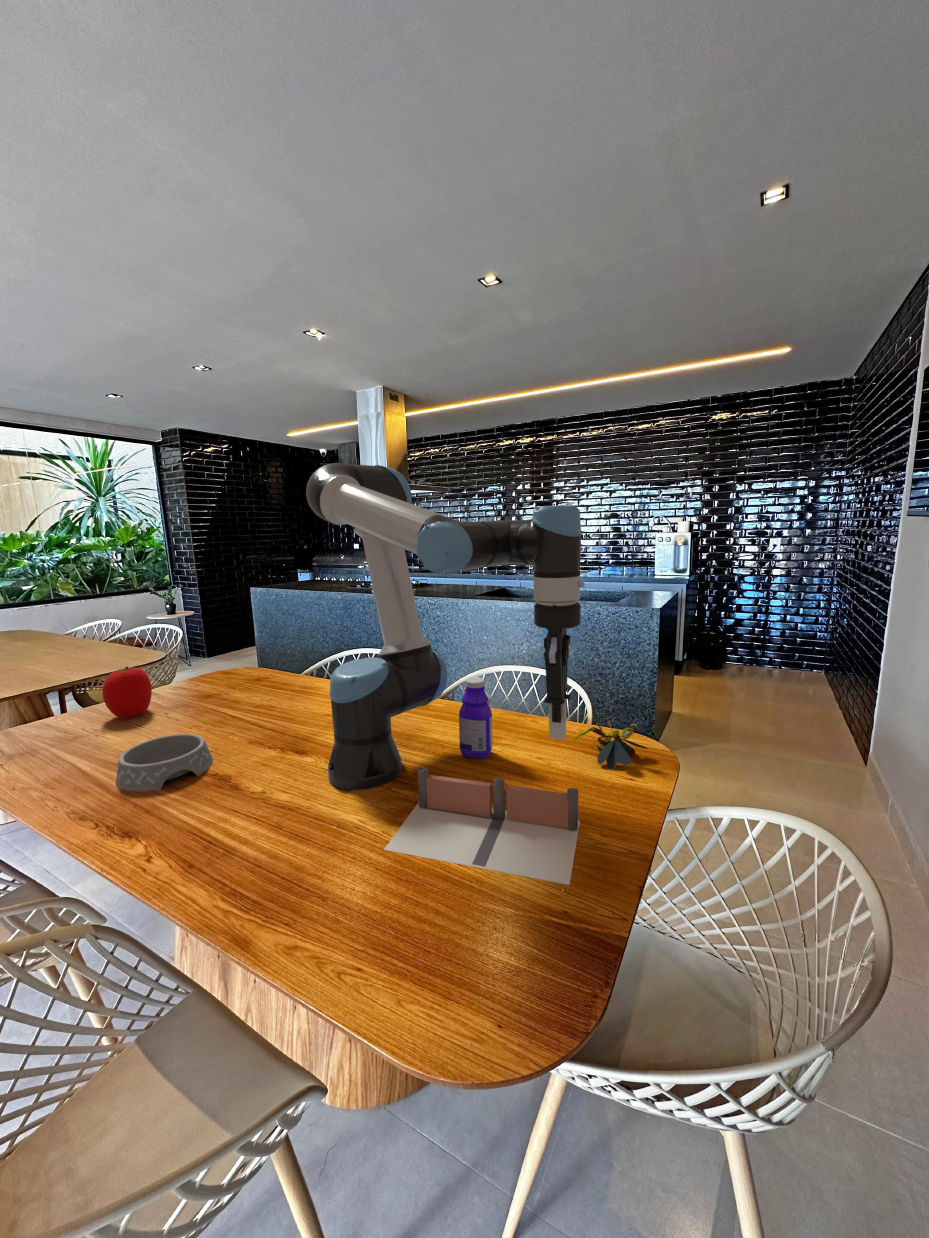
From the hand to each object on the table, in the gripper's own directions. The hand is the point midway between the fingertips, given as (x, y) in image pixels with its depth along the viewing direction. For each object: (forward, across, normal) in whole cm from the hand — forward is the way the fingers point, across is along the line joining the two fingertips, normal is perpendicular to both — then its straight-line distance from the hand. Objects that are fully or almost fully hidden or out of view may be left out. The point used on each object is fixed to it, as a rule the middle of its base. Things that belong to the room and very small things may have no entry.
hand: (557, 737), depth 87 cm
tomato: (+13, +17, +122) cm, 123 cm away
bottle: (+14, +18, +20) cm, 31 cm away
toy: (+15, +25, -7) cm, 30 cm away
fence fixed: (+14, -5, +16) cm, 22 cm away
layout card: (+14, -10, +10) cm, 20 cm away
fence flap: (+14, -5, +2) cm, 14 cm away
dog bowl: (+14, -6, +84) cm, 85 cm away
